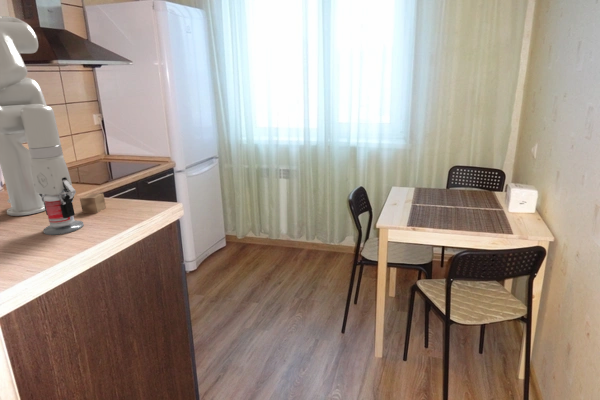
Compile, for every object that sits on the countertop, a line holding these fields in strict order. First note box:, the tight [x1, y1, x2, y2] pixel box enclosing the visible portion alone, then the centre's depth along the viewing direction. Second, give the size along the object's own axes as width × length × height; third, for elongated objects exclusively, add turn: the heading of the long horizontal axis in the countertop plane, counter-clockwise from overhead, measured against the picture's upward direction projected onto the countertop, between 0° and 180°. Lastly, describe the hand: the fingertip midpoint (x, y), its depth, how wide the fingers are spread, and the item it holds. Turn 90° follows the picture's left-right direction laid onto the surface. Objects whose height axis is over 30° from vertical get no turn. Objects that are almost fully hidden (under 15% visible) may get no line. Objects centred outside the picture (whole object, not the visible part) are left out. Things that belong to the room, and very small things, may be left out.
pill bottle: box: [44, 190, 75, 227], centre depth 113 cm, size 6×6×11 cm
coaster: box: [42, 219, 85, 236], centre depth 115 cm, size 10×10×1 cm
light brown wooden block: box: [79, 193, 107, 214], centre depth 130 cm, size 5×5×5 cm
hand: (60, 214), depth 114 cm, fingers closed on pill bottle, 6 cm apart
